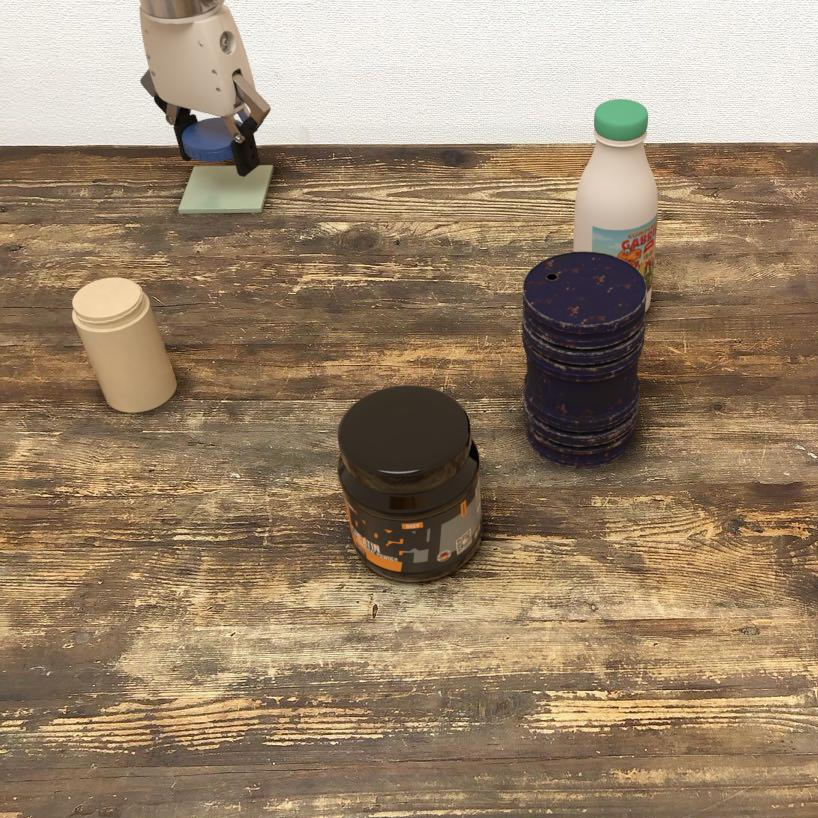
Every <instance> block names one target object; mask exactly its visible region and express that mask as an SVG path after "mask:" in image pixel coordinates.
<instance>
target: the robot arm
mask: <svg viewBox="0 0 818 818" xmlns="http://www.w3.org/2000/svg"><path fill="white" fill-rule="evenodd" d="M224 3H225V0H139V4H140V6H139V9H138V10H139V21H140V23H139V24H140V30H141V36H142V43H143V48H144V52H145V53H144V54H145V57H146V62H147V66H148V69H147V70H146V71H145V73H144V74H143V75H142V77H141V78H140V80H139V82H140V84H141V86H142V87H143V88H144V89H145V90H146V92H147V93H148V94H149V95H150V96H151V98H153V102H154V104H155V105H156V106H157V107H158V108H159V109H160V110H161V111H162V112H163V113H164V114H165V121H166V122H167V123H168V125H170V126H173V127H172V128H173V131H174V136H175V139H176V143H177V146H178V149H179V153H180V156H181V159H182V161H185V162H190V161H191V160H194V159H193V158H191V157H189V156H188V155H187V153H185V150H184V146H183V142H182V134H183V132H184V130H185V129H186V128H188V127H189V126H190V125H192V124H194V123H196V122H198V121H199V120H198V117H197V115H196V114H195V113H192V111H196V112H200V113H204V114H208V115H212V116H215V117H221V118H222V120H223V121H224V123H225V125H226V126H227V128H228V130H229V131H230V133H231V135H232V136H233V138H234V140H233V141H232V142H231V149H232V153H233V157H234V158H233V161H234V164H235V165H234V166H236V169H237V173H238V175H239V176H242V177H245V176H246V175H248V174H249V173H250V172H251V171H253V170H254V169H255V168H256V167H258V166H259V165H260V164H261V161H260V155H259V151H258V148H257V143H256V137H255V133H256V132H258V130H259V128H260V127H261V125H262V124H263V123H264V121H265V120H266V118H267V117H268V115H269V114H270V112H271V109H272V107H271V105H270V104H269V103H268V101H266V100H265V99H264V98H263V96H262V95H260V93H259V92H258V91H257V90H256V85H255V81H254V75H253V71H252V68H251V65H250V62H249V57H248V55H247V51H246V48H245V44H244V42H243V39H242V36H241V34H240V30H239V28H238V25H237V23H236V21H235V18H234V16H233V14H232V12H231V10H230V8H229V6H228V5H226V4H224ZM236 115H238V118H239V119H240V122H242V125H241V126H239V125H238V123H237V121H236V120H237V119H236V118H235V116H236Z"/></svg>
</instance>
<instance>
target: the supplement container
mask: <svg viewBox="0 0 818 818" xmlns="http://www.w3.org/2000/svg"><path fill="white" fill-rule="evenodd" d="M471 427H472V426H471V421H470V418H469V415H468V412H467V411H466V409H465V408H464V407H463V405H462V404H461V403H460V402H459V401H458V400H457V399H456V398H454V397H453V396H452V395H450V394H447V393H446V392H444V391H442V390H439V389H436V388H432V387H428V386H423V385H410V384H407V385H396V386H395V385H394V386H390V387H386V388H382V389H378V390H376V391H373V392H371V393H369V394H367V395H365V396H363V397H361V398H360V399H359V400H358V401H356V402H355V403H354V404H352V405H351V406H350V407H349V409H347V411H346V412H345V413H344V415H343V416H342V418H341V419H340V422H339V425H338V427H337V443H338V448H339V456H338V460H337V467H336V470H337V472H336V474H337V479H338V484H339V486H340V489H341V490H342V494H343V498H344V499H343V500H344V504H345V508H346V513H347V519H348V523H349V528H350V537H351V542H352V545H353V548H354V551H355V552H356V554H357V556H358V558H359V559H360V561H362V562H363V564H364V565H366V566H367V567H368V568H369V569H370V570H372V571H373V572H375V573H377V574H378V575H380V576H382V577H385V578H388V579H390V580H393V581H398V582H399V581H400V582H407V583H421V582H428V581H434V580H436V579H440V578H443V577H445V576H447V575H450V574H451V573H453V572H456V571H457V570H459V569H460V568H461V567H463V566H464V565H465V564H466V563H468V561H469V560H470V559H471V558H472V557H473V555H474V554H475V553H476V552H477V549H478V548H479V546H480V544H481V541H482V537H483V533H484V517H483V511H482V498H481V497H482V496H481V486H480V485H481V483H480V469H481V458H480V457H481V456H480V453H479V449H478V447H477V444H476V442H475V440H474V438H473V437H472V428H471Z"/></svg>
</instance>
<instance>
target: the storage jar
mask: <svg viewBox="0 0 818 818" xmlns="http://www.w3.org/2000/svg"><path fill="white" fill-rule="evenodd" d="M522 281H523V282H522V286H521V287H522V310H521V330H522V332H521V342H522V344H523V350H524V352H525V355H526V373H525V375H524V378H523V379H524V380H523V386H522V389H523V391H522V392H523V414H524V416H525V417H524V418H525V436H526V439H527V442H528V444H529V446H530V447H531V448H532V450H533V451H534V452H535V453H536V454H537V455H539V456H540V457H541V458H543V459H545V461H548V462H551V463H553V464H555V465H558V466H562V467H564V468H565V467H566V468H572V469H591V468H597V467H601V466H605V465H608V464H611V463H612V462H614V461H616V460H618V459H620V458H621V457H622V456H624V455H625V454H626V453H627V451H629V449H630V448H631V447H632V445H633V443H634V440H635V437H636V424H637V419H638V415H639V408H640V406H639V405H640V397H641V387H640V378H639V376H638V367H639V358H640V357H641V355H642V353H643V348H644V345H645V338H646V337H645V332H646V322H647V313H646V312H647V311H646V312H645V307H646V295H647V285H646V281H645V279H644V277H643V275H642V274H641V273H640V271H639V270H638V269H637V268H635V267H634V266H633V265H631V264H630V263H628V262H627V261H625V260H623V259H621V258H618V257H615V256H613V255H609V254H605V253H599V252H589V251H577V252H573V251H567V252H563V253H559V254H555V255H552V256H549V257H547V258H545V259H543V260H541V261H539V262H538V263H536V264H535V265H534V266H533V267H531V268H530V269H529V271H528V272H527V273H526V275H525V276H524V278H523V280H522Z"/></svg>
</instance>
